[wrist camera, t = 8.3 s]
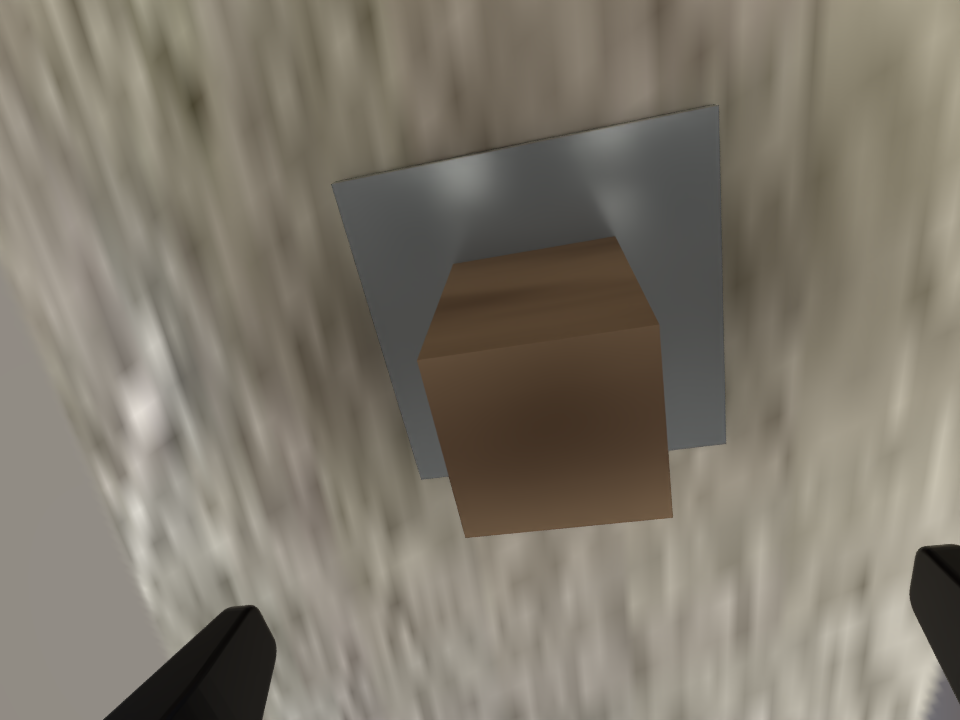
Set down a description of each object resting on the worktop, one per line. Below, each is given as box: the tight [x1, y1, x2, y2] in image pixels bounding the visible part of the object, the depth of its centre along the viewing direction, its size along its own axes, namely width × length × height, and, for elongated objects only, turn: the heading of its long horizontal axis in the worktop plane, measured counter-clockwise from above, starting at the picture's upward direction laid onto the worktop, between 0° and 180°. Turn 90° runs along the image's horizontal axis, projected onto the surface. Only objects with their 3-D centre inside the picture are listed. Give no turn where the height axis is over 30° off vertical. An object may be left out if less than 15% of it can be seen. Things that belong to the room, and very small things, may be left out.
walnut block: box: [417, 236, 673, 538], centre depth 14 cm, size 4×4×6 cm
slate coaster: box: [331, 104, 726, 480], centre depth 17 cm, size 10×10×1 cm
